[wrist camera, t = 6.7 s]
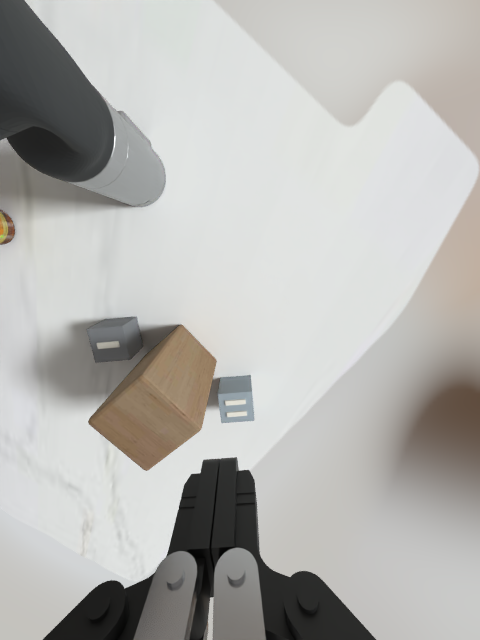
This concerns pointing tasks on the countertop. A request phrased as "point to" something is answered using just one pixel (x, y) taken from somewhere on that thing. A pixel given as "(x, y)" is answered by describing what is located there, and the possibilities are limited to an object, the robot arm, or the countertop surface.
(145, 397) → the wooden block
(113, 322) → the charcoal marked block
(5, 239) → the sauce bottle
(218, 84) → the countertop surface
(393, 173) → the countertop surface
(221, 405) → the slate marked block
